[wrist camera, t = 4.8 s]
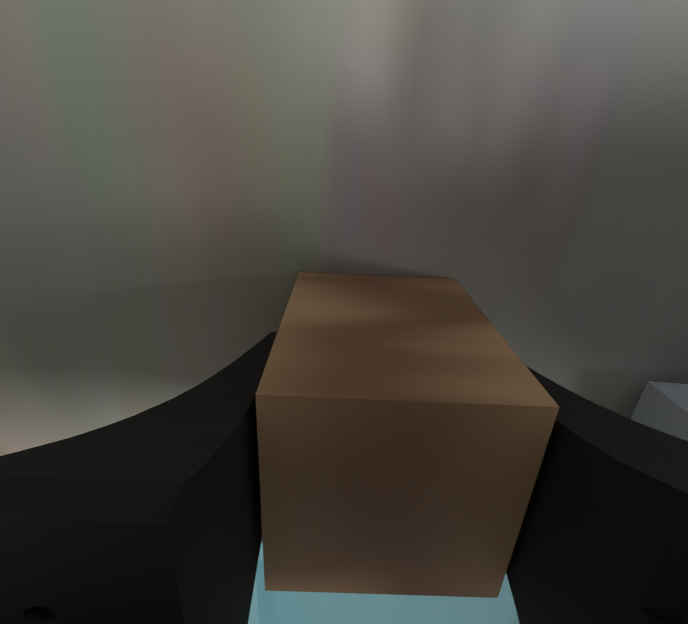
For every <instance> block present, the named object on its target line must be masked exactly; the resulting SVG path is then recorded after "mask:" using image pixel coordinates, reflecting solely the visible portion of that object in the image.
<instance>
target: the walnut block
mask: <svg viewBox="0 0 688 624" xmlns="http://www.w3.org/2000/svg"><path fill="white" fill-rule="evenodd" d="M255 396H256V416H257V437H258V458H259V478H260V499H261V520H262V540H263V561H264V582H265V591H293V592H325V593H357V594H389V595H420V596H452V597H484V598H498V596H499V593H500V590H501V586H502V583H503V580H504V577H505V574H506V571H507V568H508V565H509V562H510V559H511V556H512V552H513V549H514V546H515V543H516V540H517V537H518V534H519V531H520V528H521V525H522V522H523V518H524V515H525V512H526V509H527V506H528V503H529V500H530V497H531V494H532V491H533V488H534V484H535V481H536V478H537V475H538V472H539V469H540V466H541V463H542V460H543V457H544V453H545V450H546V447H547V444H548V441H549V438H550V435H551V432H552V429H553V426H554V423H555V419H556V416H557V413H558V410H559V406H558V405H557V403H556V402H555V401H554V400H553V398H552V397H551V396H550V395H549V394H548V392H547V391H546V390H545V389H544V387H543V386H542V385H541V384H540V383H539V381H538V380H537V379H536V378H535V376H534V375H533V374H532V373H531V372H530V370H529V369H528V368H527V367H526V365H525V364H524V363H523V362H522V361H521V359H520V358H519V357H518V356H517V354H516V353H515V352H514V351H513V350H512V348H511V347H510V346H509V345H508V343H507V342H506V341H505V340H504V339H503V337H502V336H501V335H500V334H499V332H498V331H497V330H496V329H495V328H494V326H493V325H492V324H491V323H490V321H489V320H488V319H487V318H486V317H485V315H484V314H483V313H482V312H481V310H480V309H479V308H478V307H477V306H476V304H475V303H474V302H473V301H472V299H471V298H470V297H469V296H468V295H467V293H466V292H465V291H464V290H463V288H462V287H461V286H460V285H459V284H458V282H457V281H456V280H455V279H446V278H425V277H403V276H382V275H361V274H339V273H318V272H299V273H298V276H297V279H296V281H295V284H294V287H293V290H292V293H291V296H290V298H289V301H288V304H287V307H286V310H285V313H284V315H283V318H282V321H281V324H280V327H279V329H278V332H277V335H276V338H275V341H274V344H273V346H272V349H271V352H270V355H269V358H268V361H267V363H266V366H265V369H264V372H263V375H262V377H261V380H260V383H259V386H258V389H257V392H256V394H255Z"/></svg>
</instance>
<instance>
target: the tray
mask: <svg viewBox="0 0 688 624" xmlns="http://www.w3.org/2000/svg"><path fill="white" fill-rule="evenodd" d="M248 624H520V623H519V619H518V615H517V611H516V607H515V604H514V600H513V596H512V592H511V589H510V585H509V581H508V577H507V574H505V577H504V580H503V583H502V586H501V590H500V593H499V596H498V598H484V597H452V596H420V595H389V594H357V593H325V592H293V591H265V582H264V561H263V540H262V541H261V547H260V553H259V558H258V565H257V571H256V577H255V583H254V589H253V595H252V601H251V607H250V614H249V620H248Z"/></svg>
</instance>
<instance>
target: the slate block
mask: <svg viewBox="0 0 688 624" xmlns="http://www.w3.org/2000/svg"><path fill="white" fill-rule="evenodd" d="M630 419H631V420H633V421H636V422H638V423H641V424H643V425H646V426H648V427H651V428H654V429H656V430H659V431H662V432H664V433H667V434H670V435H672V436H675V437H678V438H680V439H683V440H686V441H688V384H680V383H666V382H653V381H647V383H646V386H645V388H644V390H643V392H642V394H641V396H640V399H639V401H638V403H637V405H636V407H635V409H634V412H633V414H632V416H631V418H630Z"/></svg>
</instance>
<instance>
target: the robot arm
mask: <svg viewBox="0 0 688 624" xmlns="http://www.w3.org/2000/svg"><path fill="white" fill-rule="evenodd" d="M276 335H277V332H271V333H270V334H268V335H267V336H266V337H265V338H263V339H262V340H261V341H260V342H259V343H257V344H256V345H255V346H254V347H252V348H251V349H250V350H249V351H247V352H246V353H245V354H243V355H242V356H241V357H240V358H238V359H237V360H236V361H234V362H233V363H231V364H230V365H228V366H227V367H225V368H224V369H222V370H221V371H220V372H218V373H217V374H215V375H214V376H212V377H211V378H209V379H207V380H206V381H204V382H203V383H201V384H199V385H197V386H196V387H194V388H192V389H190V390H188V391H186V392H184V393H183V394H181V395H179V396H177V397H175V398H173V399H171V400H169V401H166V402H164V403H162V404H160V405H157V406H155V407H153V408H150V409H148V410H146V411H144V412H141V413H139V414H137V415H134V416H132V417H129V418H127V419H124V420H121V421H119V422H116V423H113V424H110V425H108V426H105V427H102V428H99V429H96V430H93V431H90V432H87V433H84V434H81V435H77V436H74V437H71V438H67V439H64V440H60V441H56V442H53V443H49V444H45V445H41V446H38V447H34V448H30V449H27V450H23V451H19V452H15V453H11V454H7V455H3V456H0V624H248V620H249V614H250V607H251V601H252V595H253V589H254V583H255V577H256V571H257V565H258V558H259V553H260V547H261V541H262V520H261V499H260V478H259V458H258V437H257V416H256V396H255V394H256V392H257V389H258V386H259V383H260V380H261V377H262V375H263V372H264V369H265V366H266V363H267V361H268V358H269V355H270V352H271V349H272V346H273V344H274V341H275V338H276ZM526 367H527V366H526ZM527 368H528V369H529V370H530V372H531V373H532V374H533V375H534V376H535V378H536V379H537V380H538V381H539V383H540V384H541V385H542V386H543V387H544V389H545V390H546V391H547V392H548V394H549V395H550V396H551V397H552V398H553V400H554V401H555V402H556V403H557V405H558V406H559V410H558V413H557V416H556V419H555V423H554V426H553V429H552V432H551V435H550V438H549V441H548V444H547V447H546V450H545V453H544V457H543V460H542V463H541V466H540V469H539V472H538V475H537V478H536V481H535V484H534V488H533V491H532V494H531V497H530V500H529V503H528V506H527V509H526V512H525V515H524V518H523V522H522V525H521V528H520V531H519V534H518V537H517V540H516V543H515V546H514V549H513V552H512V556H511V559H510V562H509V565H508V568H507V571H506V574H507V577H508V581H509V585H510V589H511V592H512V596H513V600H514V604H515V607H516V611H517V615H518V619H519V623H520V624H688V441H686V440H683V439H680V438H678V437H675V436H672V435H670V434H667V433H664V432H662V431H659V430H656V429H654V428H651V427H648V426H646V425H643V424H641V423H638V422H636V421H633V420H631V419H628V418H626V417H624V416H622V415H619V414H617V413H615V412H613V411H610V410H608V409H606V408H604V407H602V406H599V405H597V404H595V403H593V402H591V401H589V400H587V399H585V398H583V397H581V396H579V395H577V394H575V393H573V392H571V391H569V390H568V389H566V388H564V387H562V386H560V385H558V384H556V383H555V382H553V381H551V380H549V379H547V378H546V377H544V376H542V375H541V374H539V373H537V372H535V371H534V370H532V369H530V368H529V367H527Z"/></svg>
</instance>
